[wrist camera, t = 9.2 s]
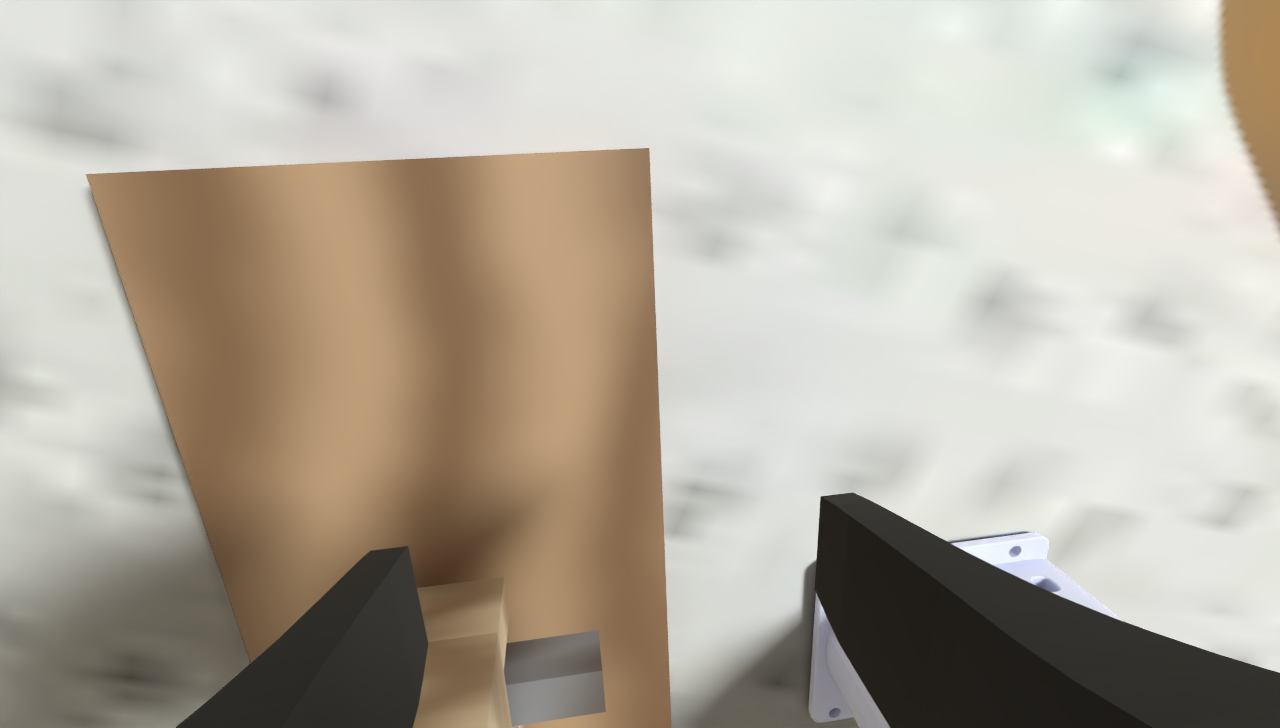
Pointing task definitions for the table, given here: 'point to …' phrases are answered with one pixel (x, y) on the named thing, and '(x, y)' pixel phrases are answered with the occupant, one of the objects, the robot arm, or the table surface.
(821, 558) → the robot arm
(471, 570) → the board
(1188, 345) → the table surface
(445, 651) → the slotted block
